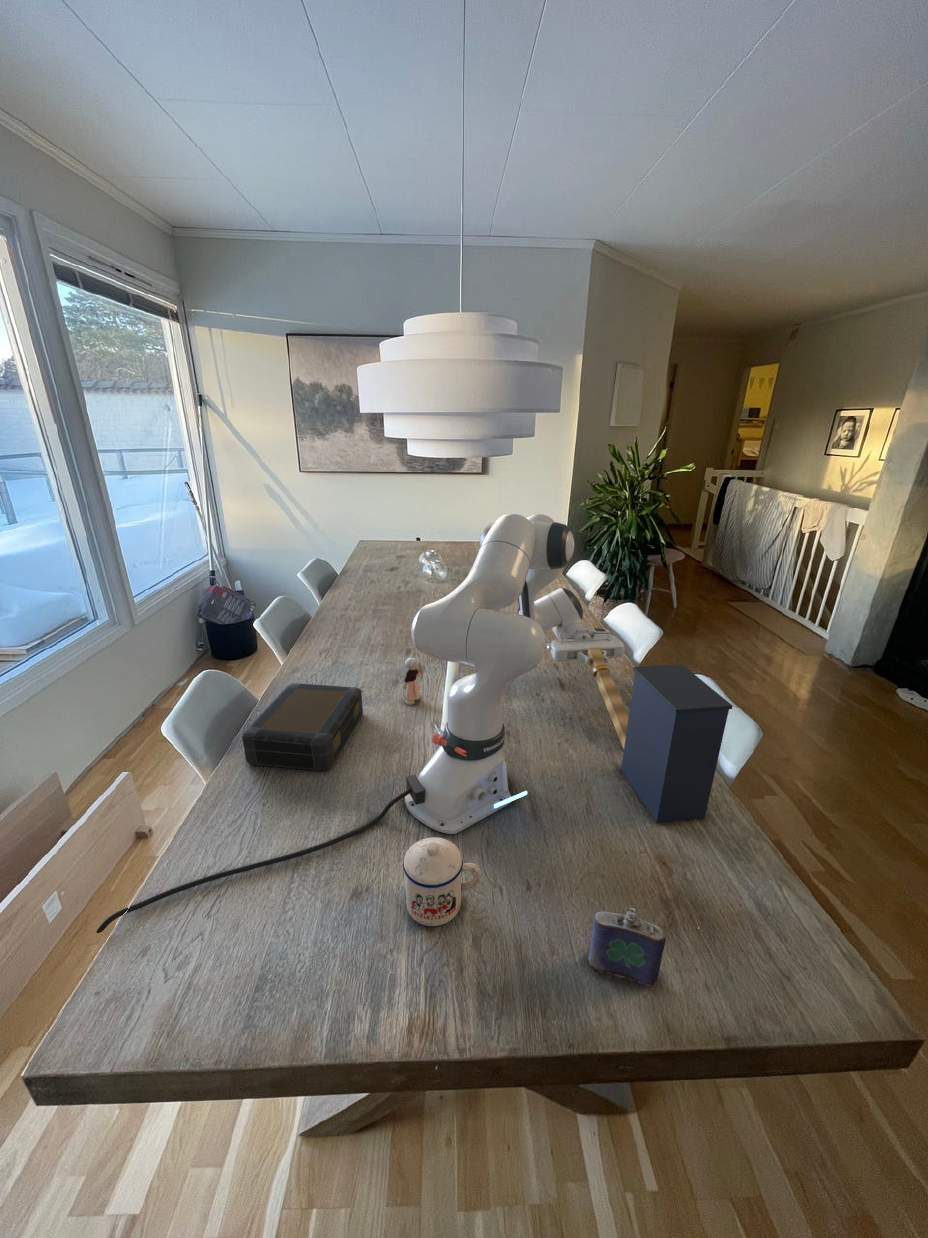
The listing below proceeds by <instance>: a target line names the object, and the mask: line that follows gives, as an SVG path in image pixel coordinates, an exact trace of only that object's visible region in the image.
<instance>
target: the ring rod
mask: <svg viewBox="0 0 928 1238" xmlns="http://www.w3.org/2000/svg"><path fill="white" fill-rule="evenodd" d="M586 656H590V657H591V658H592V664H589V666H590V670H591V674H592V676H593V677H594V679H595V681H596V684H597V687H598V689H599V692H600V694H601V696H602V700H603V702H604V704H605V706H606V710H607V711H608V714H609V716H610V719H611V722H612V724H613V726H614V730H615V731H616V734H617V737H618V739H619V741H620V745H621V746H622V749H623V750H624V746H625V739H626V732H627V725H628V718H629V713H628V711H627V709H626V707H625V705H624V702H623V699H622V697H621V694H620V693H619V691H618V688H617V685H616V683H615V682H614V679H613V676H612V674H611V670H610V668H609V666H608V664H607V663H606V662H605V660H604V658H603V655H602V653H601V651H600V648H599V647H598V648H589V649H588V651H587V654H586Z"/></svg>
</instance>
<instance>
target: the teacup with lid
mask: <svg viewBox="0 0 928 1238" xmlns="http://www.w3.org/2000/svg"><path fill="white" fill-rule="evenodd" d="M402 861H403V862H402V868H403V869H402V870H403V872H404V879H405V880H404V881H405V882H404V883H405V902H406V904H405V905H406V909H407V912H408V914H409V916H410V917H411V918H412V920H414V921H415V922H417V923H418V924H420V925H423V926H426V927H437V926H442V925H445V924H447V923H449V922H451V921H452V920H453V919H454V918H455V917H456V916H457V914H458V912H459V911H460V908H461V904H462V892H468V891H471V890H473V889H475V888H476V887H477V886H478V885H479V884H480V882H481V879H482V870H481V868H480V866H479V865H477V864H476V863H473V862H464V859H463V855H462V852H461V851H460V849H459V847H458V846H456V844H455V843H453V841H450V840H448V839H446V838H443V837H434V836H432V837H426V838H422V839H420V840H418V841H416V842H415V843H413V844H412V845H411V846H410V847H409V848H408V849H407V851H406V853H405V854H404V857H403V860H402ZM463 872H473V873H475V876H474V877H473V879H472V880H470V881H468V882H467V881H466V882H463V883H462V873H463Z"/></svg>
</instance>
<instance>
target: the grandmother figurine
mask: <svg viewBox="0 0 928 1238" xmlns="http://www.w3.org/2000/svg"><path fill="white" fill-rule="evenodd" d="M417 663H418V659H417V658H415V657H408V658H407V659H406V660H405V661H404V665H405V667H406V668H407V671H406V673H405V678H404V680H403V685H402V688H403V689H404V690H406V691H405V695H406V696H405V704H407V705H409V706H413V705H414V704H415V703H416V701H419V699H420V698H421V696H420V689H419V684H418V679H417V678H419V676H420V674H419V670H418V669H417Z"/></svg>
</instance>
